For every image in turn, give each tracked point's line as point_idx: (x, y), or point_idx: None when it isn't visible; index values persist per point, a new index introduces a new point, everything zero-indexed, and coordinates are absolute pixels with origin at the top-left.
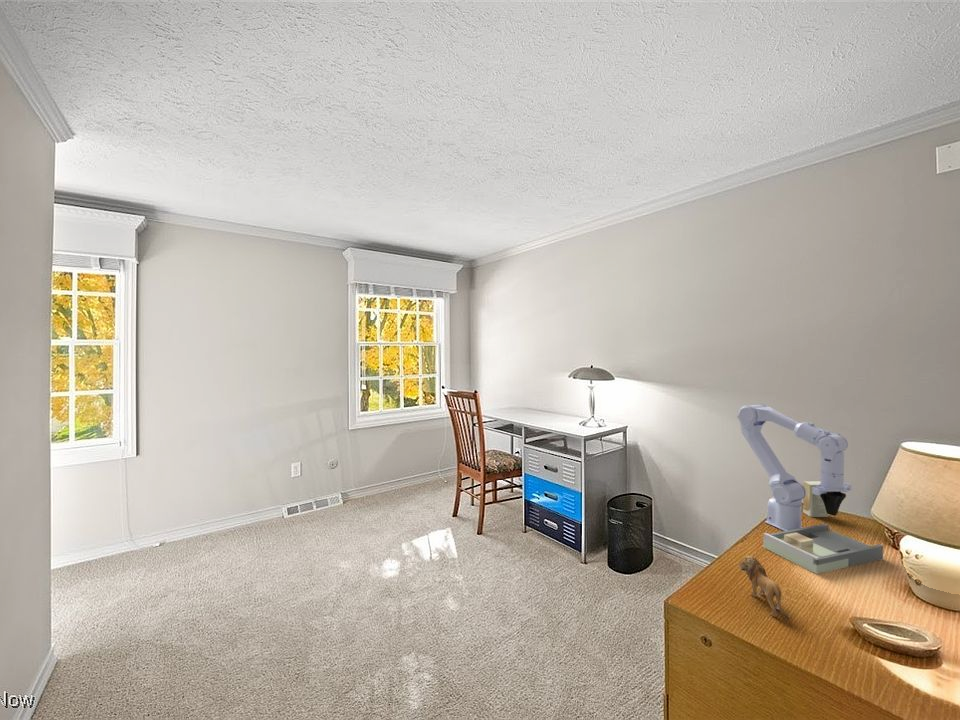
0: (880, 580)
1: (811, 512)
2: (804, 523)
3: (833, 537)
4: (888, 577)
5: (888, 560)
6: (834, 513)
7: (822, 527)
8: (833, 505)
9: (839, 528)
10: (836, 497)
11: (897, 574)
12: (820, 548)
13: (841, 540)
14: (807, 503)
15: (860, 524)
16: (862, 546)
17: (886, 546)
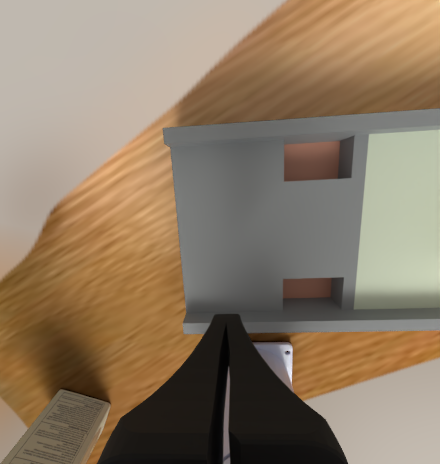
0: (348, 23)
1: (100, 417)
2: None
3: (237, 262)
4: (297, 33)
5: None
6: (239, 319)
7: None
8: (262, 362)
9: (98, 328)
10: (322, 432)
11: (243, 42)
12: (382, 210)
13: (233, 237)
14: (84, 460)
15: (7, 330)
16: (208, 180)
17: (73, 202)
